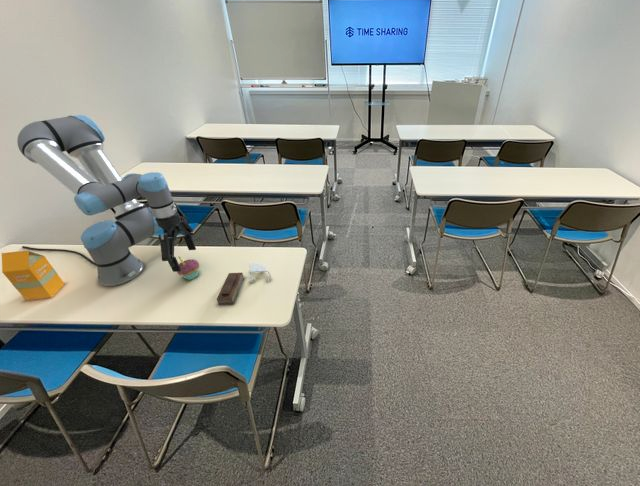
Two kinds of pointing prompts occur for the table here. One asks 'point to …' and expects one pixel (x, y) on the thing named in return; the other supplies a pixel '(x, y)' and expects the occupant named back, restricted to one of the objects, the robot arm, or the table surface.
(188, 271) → the cupcake
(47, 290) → the orange juice
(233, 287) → the brown rectangular panel
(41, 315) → the table surface
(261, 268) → the origami figure
